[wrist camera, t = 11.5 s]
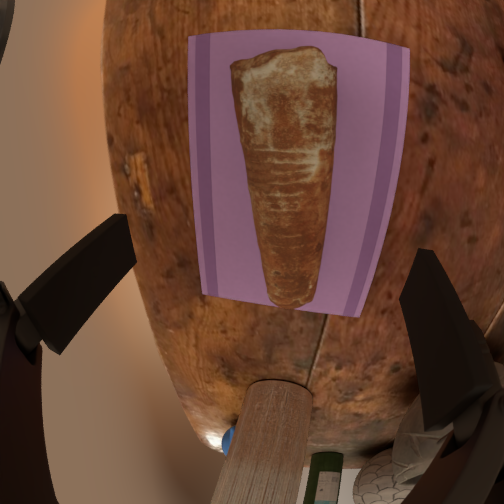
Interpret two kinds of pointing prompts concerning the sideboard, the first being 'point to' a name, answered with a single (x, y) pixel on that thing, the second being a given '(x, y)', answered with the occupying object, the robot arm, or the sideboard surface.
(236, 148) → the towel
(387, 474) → the decorative sphere
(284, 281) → the brown tapered rod
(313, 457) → the wine bottle
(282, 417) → the planter
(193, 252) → the sideboard surface
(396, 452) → the bowl
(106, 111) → the sideboard surface
